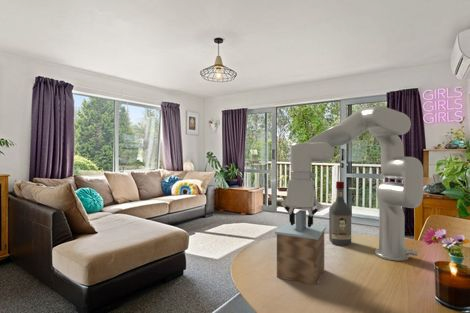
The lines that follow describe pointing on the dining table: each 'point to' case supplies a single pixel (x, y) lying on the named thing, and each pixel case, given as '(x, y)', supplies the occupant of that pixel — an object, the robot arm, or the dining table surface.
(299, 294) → the dining table surface
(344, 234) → the liquor
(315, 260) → the crate
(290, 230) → the lid
